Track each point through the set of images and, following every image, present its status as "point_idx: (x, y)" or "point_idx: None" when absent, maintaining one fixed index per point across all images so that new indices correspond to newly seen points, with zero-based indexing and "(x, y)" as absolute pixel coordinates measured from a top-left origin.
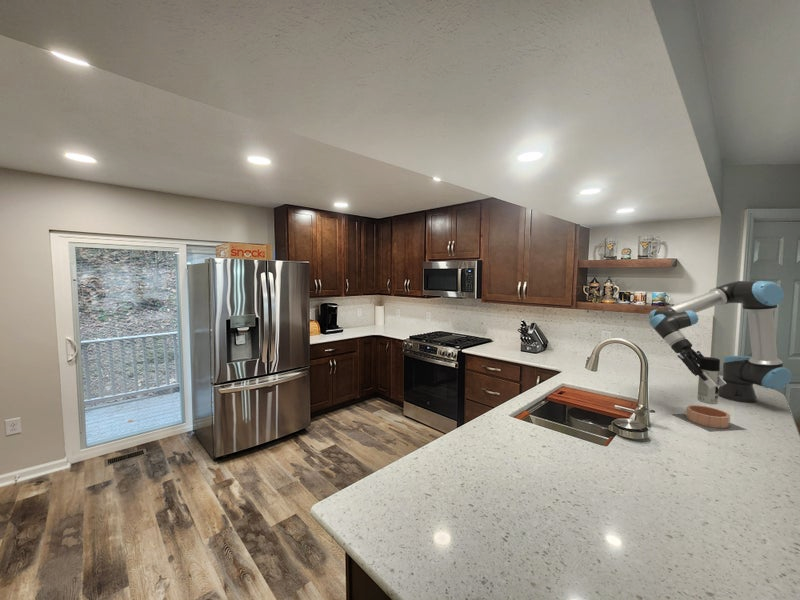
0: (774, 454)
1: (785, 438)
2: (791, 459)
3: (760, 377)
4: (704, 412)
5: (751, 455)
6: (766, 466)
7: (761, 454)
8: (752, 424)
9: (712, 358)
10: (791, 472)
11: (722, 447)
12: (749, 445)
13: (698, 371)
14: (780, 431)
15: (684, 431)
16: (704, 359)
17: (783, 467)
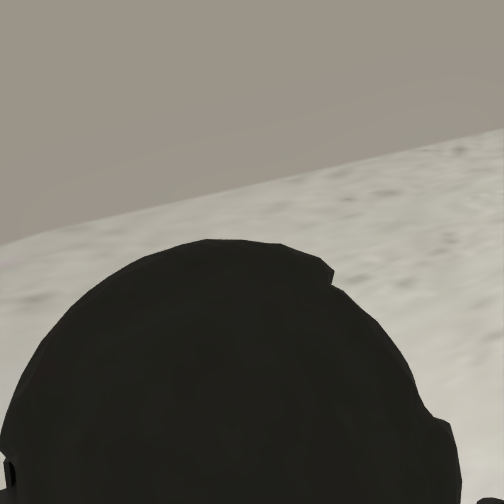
0: (333, 204)
1: (109, 235)
2: (322, 172)
3: None
4: None
5: (424, 230)
6: (460, 185)
7: (379, 220)
8: (20, 359)
9: (185, 384)
10: (425, 149)
11: (466, 298)
12: (335, 265)
13: (496, 500)
14: (23, 269)
15: (479, 463)
16: (453, 473)
17: (413, 165)
